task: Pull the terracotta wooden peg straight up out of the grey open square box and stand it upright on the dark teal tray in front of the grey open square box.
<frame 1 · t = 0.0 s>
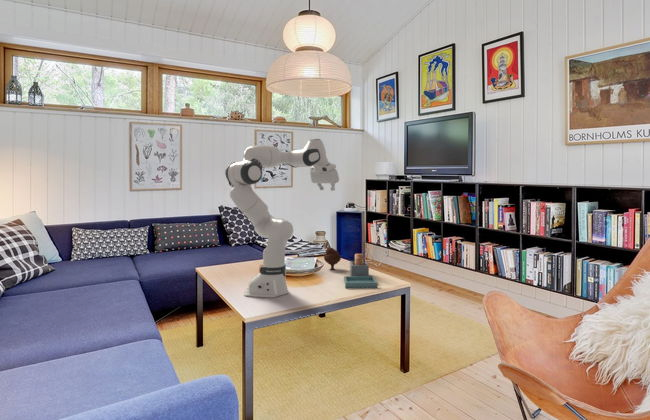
hand: (327, 190, 224), 52 cm above the table, tool tilted 20°, fingers open, 8 cm apart
peg: (359, 276, 232), point 1 cm above the table, touching grey open square box
tray: (360, 284, 218), on the table
grey open square box: (359, 277, 232), on the table
ice cream bowl: (332, 271, 249), on the table
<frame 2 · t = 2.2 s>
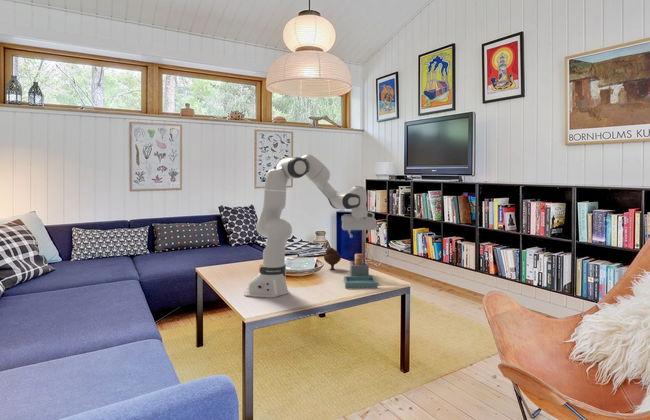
hand: (359, 237, 230), 24 cm above the table, tool pointing down, fingers open, 8 cm apart
nothing on the table moved.
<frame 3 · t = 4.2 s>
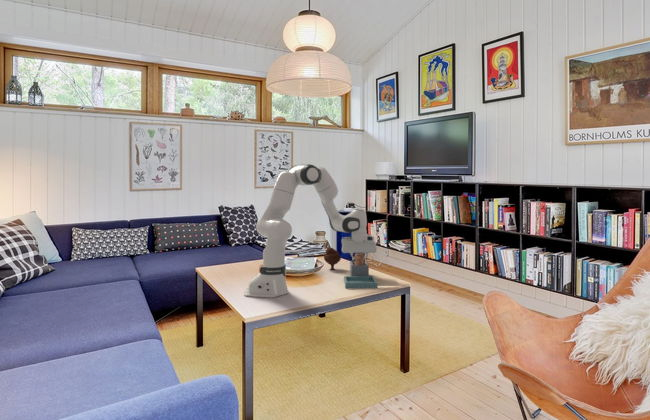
hand: (359, 260, 231), 11 cm above the table, tool pointing down, fingers closed on peg, 5 cm apart
peg: (359, 276, 232), point 1 cm above the table, touching grey open square box, gripper
everything else where it was.
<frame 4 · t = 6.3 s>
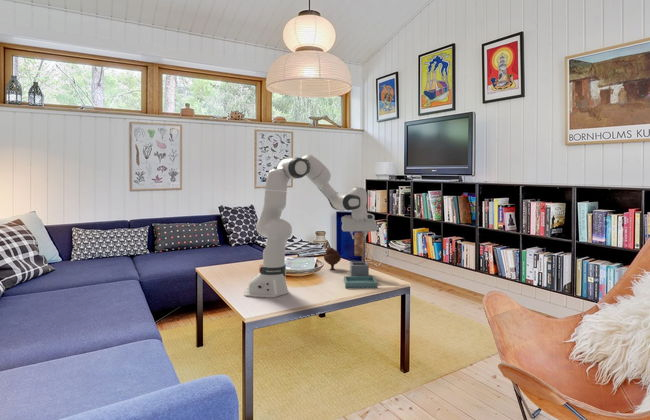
hand: (358, 238, 230), 23 cm above the table, tool pointing down, fingers closed on peg, 5 cm apart
peg: (358, 255, 231), point 14 cm above the table, touching gripper
everything else where it was.
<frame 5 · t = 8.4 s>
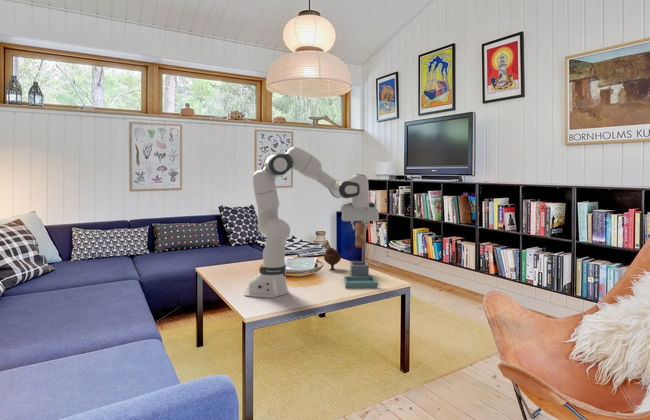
hand: (360, 229, 215), 31 cm above the table, tool pointing down, fingers closed on peg, 5 cm apart
peg: (359, 246, 216), point 21 cm above the table, touching gripper
everything else where it was.
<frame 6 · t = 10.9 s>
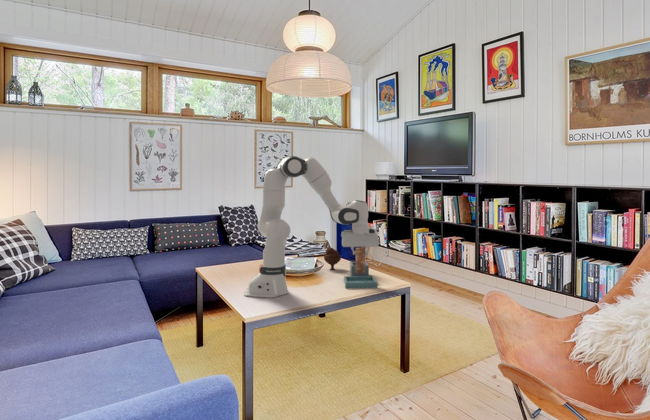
hand: (360, 254, 216), 17 cm above the table, tool pointing down, fingers closed on peg, 5 cm apart
peg: (360, 271, 217), point 7 cm above the table, touching gripper
everything else where it was.
when the fingers open (12 cm above the table, at t = 12.8 s): peg drops 1 cm, resting on tray.
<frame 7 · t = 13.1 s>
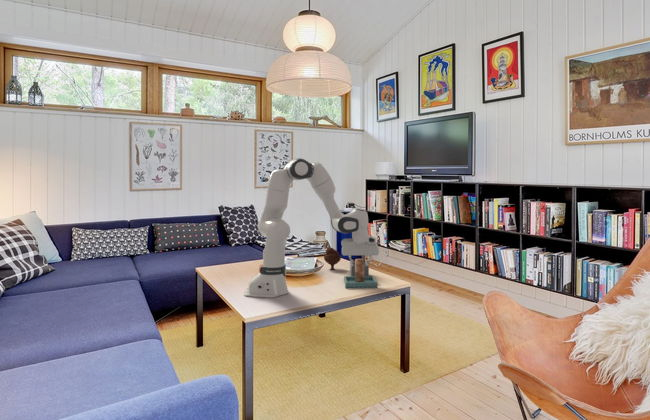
hand: (360, 263, 217), 12 cm above the table, tool pointing down, fingers open, 8 cm apart
peg: (359, 282, 218), point 1 cm above the table, touching tray
everything else where it was.
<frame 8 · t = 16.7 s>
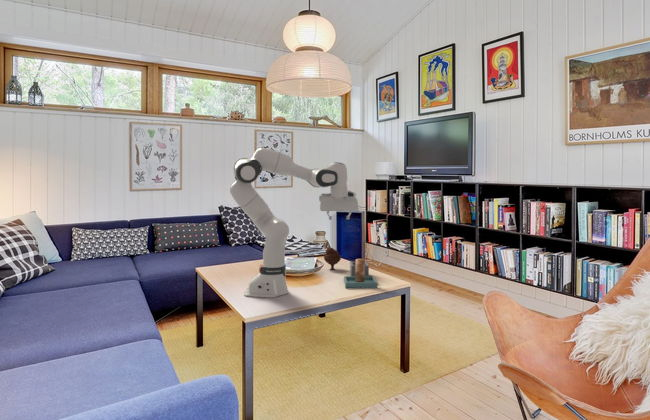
hand: (339, 219, 208), 37 cm above the table, tool pointing down, fingers open, 8 cm apart
nothing on the table moved.
at the end: peg inside the target area on the tray (0.1 cm from its centre), point 1.0 cm above the tray's base; peg tilted 1°; the gripper is holding nothing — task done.
